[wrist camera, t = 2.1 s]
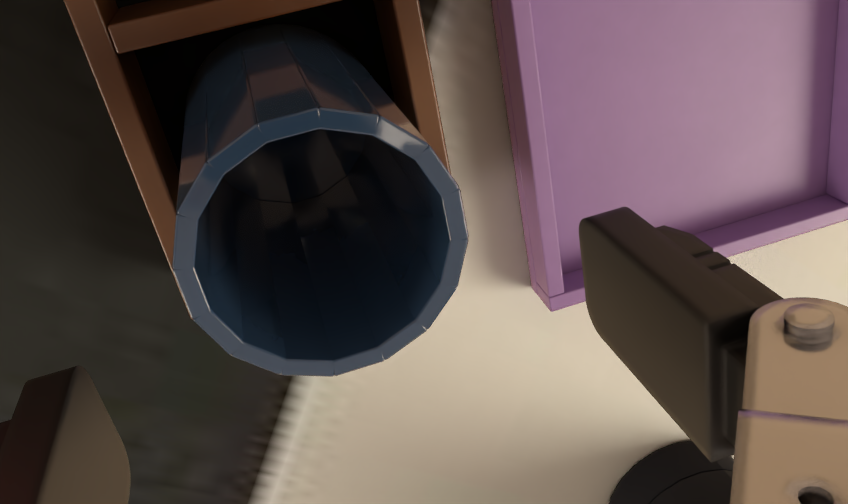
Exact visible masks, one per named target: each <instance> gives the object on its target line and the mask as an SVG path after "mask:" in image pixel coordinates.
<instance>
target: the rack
mask: <svg viewBox="0 0 848 504" xmlns="http://www.w3.org/2000/svg"><path fill="white" fill-rule="evenodd" d="M63 1H64V3H65V6H66V8H67V11H68V13H69V16H70V18H71V21H72V23H73V26H74V28H75V31H76V33H77V36H78V38H79V41H80V43H81V46H82V48H83V51H84V53H85V56H86V58H87V61H88V63H89V66H90V68H91V71H92V73H93V76H94V78H95V81H96V83H97V86H98V88H99V91H100V93H101V96H102V98H103V101H104V103H105V106H106V108H107V111H108V114H109V116H110V119H111V121H112V124H113V126H114V129H115V131H116V134H117V136H118V139H119V141H120V144H121V146H122V149H123V151H124V154H125V156H126V159H127V161H128V164H129V166H130V169H131V171H132V174H133V176H134V179H135V181H136V184H137V186H138V189H139V191H140V194H141V196H142V199H143V201H144V204H145V206H146V209H147V211H148V214H149V216H150V219H151V221H152V224H153V226H154V229H155V231H156V234H157V236H158V239H159V241H160V244H161V246H162V249H163V251H164V254H165V256H166V259H167V261H168V264H169V266H170V269H171V271H172V274H173V276H174V273H173V268H172V260H173V247H174V233H175V220H176V208H177V197H178V186H179V176H180V174H179V172H178V169H177V166H176V164H175V161H174V158H173V155H172V153H171V150H170V147H169V145H168V142H167V139H166V136H165V134H164V131H163V128H162V126H161V123H160V120H159V117H158V115H157V112H156V109H155V106H154V104H153V101H152V98H151V96H150V93H149V90H148V87H147V85H146V82H145V79H144V77H143V74H142V71H141V68H140V66H139V63H138V60H137V58H136V55H135V52H134V50H139V49H143V48H147V47H151V46H155V45H159V44H163V43H168V42H172V41H176V40H180V39H184V38H188V37H192V36H196V35H201V34H205V33H209V32H213V31H217V30H221V29H225V28H230V27H234V26H238V25H242V24H246V23H250V22H254V21H259V20H263V19H267V18H271V17H275V16H279V15H283V14H288V13H292V12H296V11H300V10H304V9H308V8H312V7H317V6H321V5H325V4H329V3H333V2H337V1H341V0H150V1H146V2H142V3H138V4H133V5H129V6H125V7H121V8H120V9H118V6H117V3H116V0H63ZM373 1H374V6H375V11H376V15H377V20H378V25H379V30H380V34H381V39H382V44H383V48H384V53H385V58H386V63H387V67H388V72H389V77H390V81H391V86H392V91H393V95H394V100H395V105H396V106H397V107H398V108H399V109H400V110H401V112H402V113H403V114H404V115H405V116H406V118H407V119H408V120H409V121H410V122H411V123H412V125H413V126H414V127H415V128H416V129H417V130H418V132H419V133H420V134H421V135H422V136H423V138H424V139H425V140H426V141H427V142H428V143H429V145H430V146H431V147H432V149H433V150H434V151H435V153H436V154H437V156H438V157H439V159H440V160H441V161H442V163H443V164H444V166H445V167H446V169H447V170H448V171H449V173H450V174H451V172H450V166H449V161H448V156H447V150H446V145H445V139H444V134H443V129H442V123H441V118H440V112H439V107H438V102H437V96H436V91H435V85H434V80H433V75H432V69H431V64H430V58H429V53H428V48H427V42H426V37H425V31H424V26H423V21H422V15H421V10H420V4H419V0H373ZM174 279H175V281H176V278H175V276H174ZM176 284H177V286H178V283H177V281H176ZM178 289H179V291H180V288H179V286H178ZM180 294H181V296H182V293H181V291H180ZM182 299H183V301H184V298H183V296H182ZM184 304H185V306H186V303H185V301H184ZM186 309H187V311H188V308H187V306H186ZM188 314H189V316H190V313H189V311H188ZM190 318H191V319H192V320H193V318H192V317H191V316H190Z"/></svg>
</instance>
